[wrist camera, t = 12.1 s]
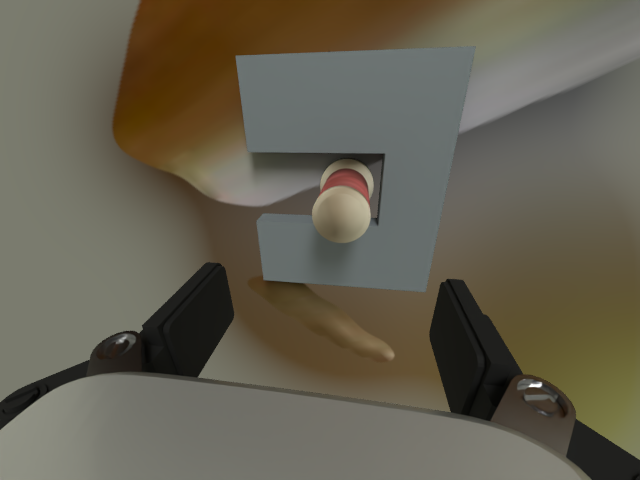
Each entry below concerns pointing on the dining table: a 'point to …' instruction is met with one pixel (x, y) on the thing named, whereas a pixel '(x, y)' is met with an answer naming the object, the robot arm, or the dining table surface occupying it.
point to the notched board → (360, 137)
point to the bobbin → (344, 201)
